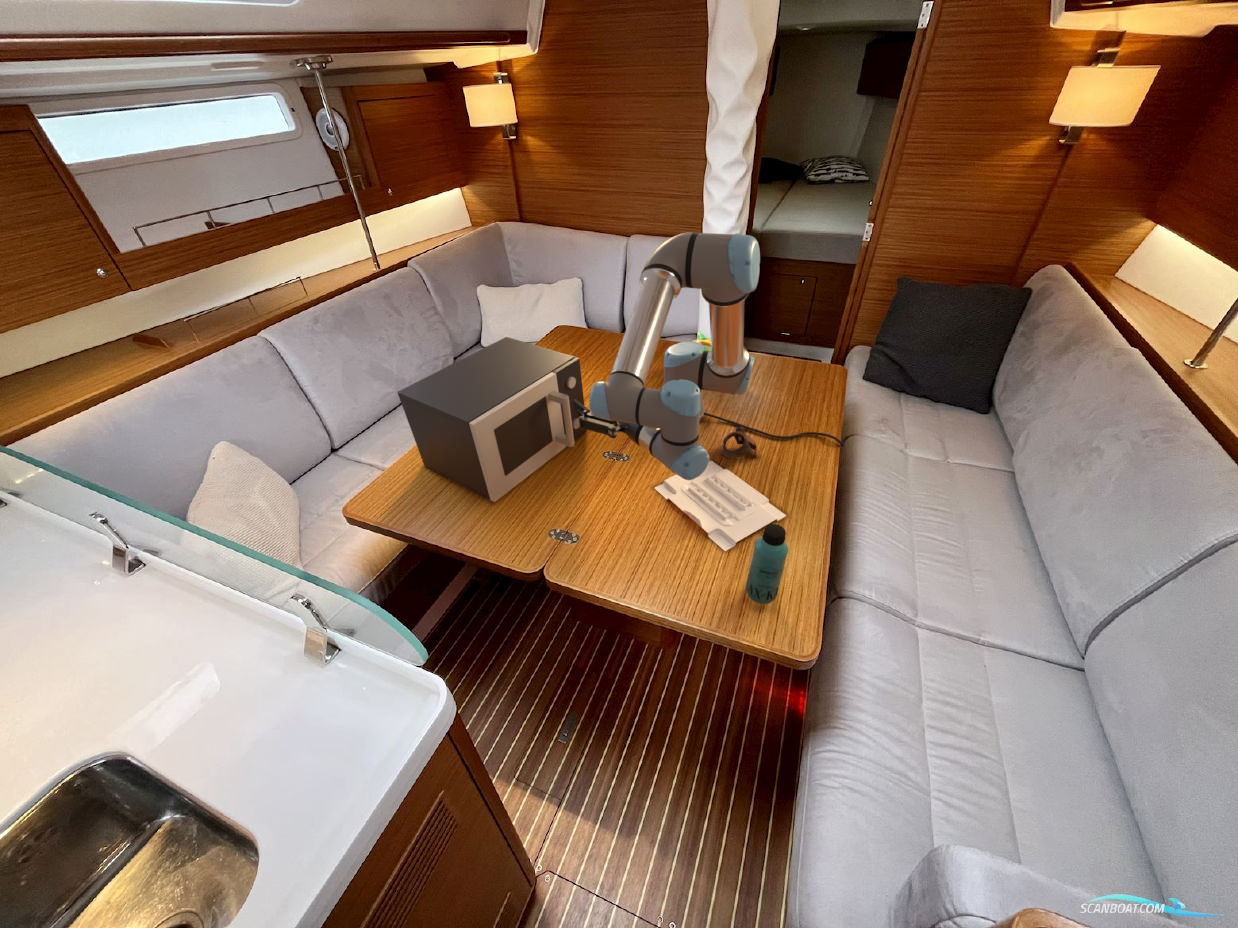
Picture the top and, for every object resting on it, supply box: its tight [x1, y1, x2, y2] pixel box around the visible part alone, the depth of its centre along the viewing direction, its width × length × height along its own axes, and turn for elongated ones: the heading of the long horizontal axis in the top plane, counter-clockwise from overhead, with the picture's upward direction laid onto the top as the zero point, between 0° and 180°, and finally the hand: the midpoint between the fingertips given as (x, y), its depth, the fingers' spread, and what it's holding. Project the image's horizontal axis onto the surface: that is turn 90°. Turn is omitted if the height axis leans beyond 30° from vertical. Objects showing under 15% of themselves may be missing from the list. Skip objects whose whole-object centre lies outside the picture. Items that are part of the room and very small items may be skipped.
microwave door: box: [469, 372, 575, 503], centre depth 132 cm, size 8×30×25 cm, turn 145°
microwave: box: [396, 336, 588, 501], centre depth 144 cm, size 30×40×25 cm
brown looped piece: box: [721, 426, 758, 459], centre depth 142 cm, size 12×10×8 cm
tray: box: [654, 460, 787, 552], centre depth 127 cm, size 20×28×4 cm
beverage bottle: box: [745, 523, 789, 605], centre depth 98 cm, size 6×7×20 cm
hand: (598, 395), depth 123 cm, fingers open, 13 cm apart
